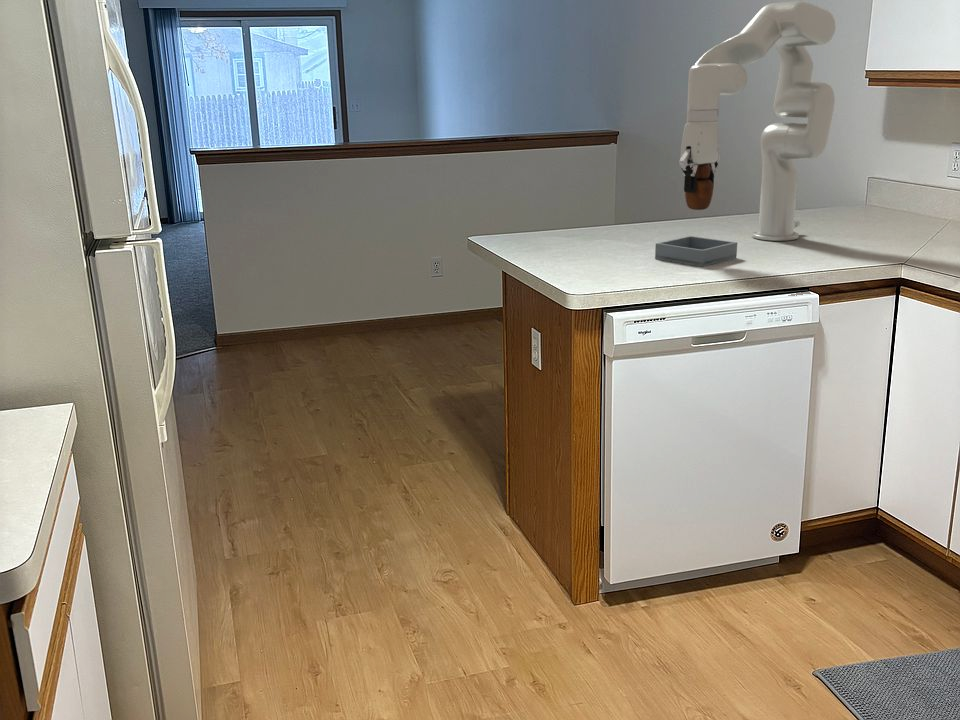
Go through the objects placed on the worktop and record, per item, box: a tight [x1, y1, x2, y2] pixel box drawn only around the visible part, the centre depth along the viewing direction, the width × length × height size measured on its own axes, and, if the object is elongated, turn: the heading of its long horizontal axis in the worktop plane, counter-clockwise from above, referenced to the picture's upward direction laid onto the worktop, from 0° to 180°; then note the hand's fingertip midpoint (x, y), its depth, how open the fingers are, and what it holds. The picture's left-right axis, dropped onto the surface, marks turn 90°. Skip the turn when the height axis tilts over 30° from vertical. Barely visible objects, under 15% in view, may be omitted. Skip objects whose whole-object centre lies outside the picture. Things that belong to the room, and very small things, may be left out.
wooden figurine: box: [684, 164, 714, 211], centre depth 230 cm, size 7×6×15 cm
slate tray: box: [654, 235, 738, 267], centre depth 236 cm, size 15×15×4 cm
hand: (698, 190), depth 231 cm, fingers closed on wooden figurine, 6 cm apart
